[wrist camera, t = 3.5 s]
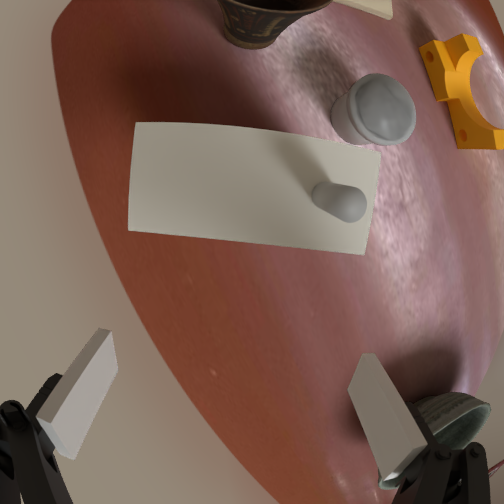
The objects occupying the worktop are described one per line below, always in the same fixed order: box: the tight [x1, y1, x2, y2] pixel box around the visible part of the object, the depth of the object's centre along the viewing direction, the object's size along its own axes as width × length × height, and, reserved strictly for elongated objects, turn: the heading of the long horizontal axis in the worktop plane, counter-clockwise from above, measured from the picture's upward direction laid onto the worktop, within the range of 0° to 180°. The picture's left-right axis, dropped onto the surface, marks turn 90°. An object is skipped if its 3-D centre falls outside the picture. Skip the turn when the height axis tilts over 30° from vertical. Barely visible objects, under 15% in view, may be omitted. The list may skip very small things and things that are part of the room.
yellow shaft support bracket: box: [419, 33, 504, 150], centre depth 18 cm, size 12×4×6 cm, turn 15°
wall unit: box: [128, 122, 381, 255], centre depth 16 cm, size 5×11×16 cm, turn 83°
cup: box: [217, 0, 333, 49], centre depth 15 cm, size 9×9×10 cm
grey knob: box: [331, 74, 416, 146], centre depth 19 cm, size 6×6×6 cm
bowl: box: [378, 392, 491, 490], centre depth 30 cm, size 21×21×10 cm
